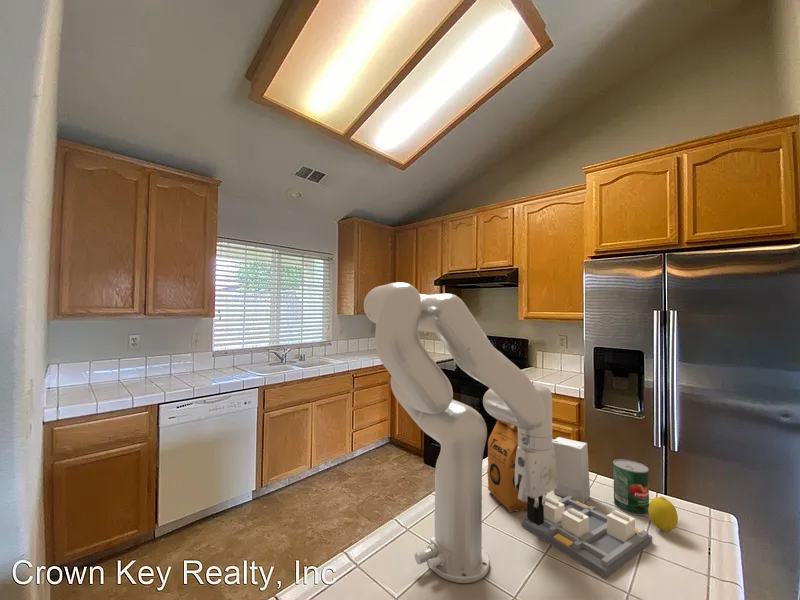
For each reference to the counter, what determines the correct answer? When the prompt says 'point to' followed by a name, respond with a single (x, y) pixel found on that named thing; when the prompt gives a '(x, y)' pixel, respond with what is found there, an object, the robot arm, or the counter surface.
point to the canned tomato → (631, 487)
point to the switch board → (591, 540)
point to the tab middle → (575, 522)
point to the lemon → (663, 514)
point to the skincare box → (572, 469)
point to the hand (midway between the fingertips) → (535, 521)
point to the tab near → (620, 526)
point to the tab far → (553, 510)
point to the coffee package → (504, 465)
